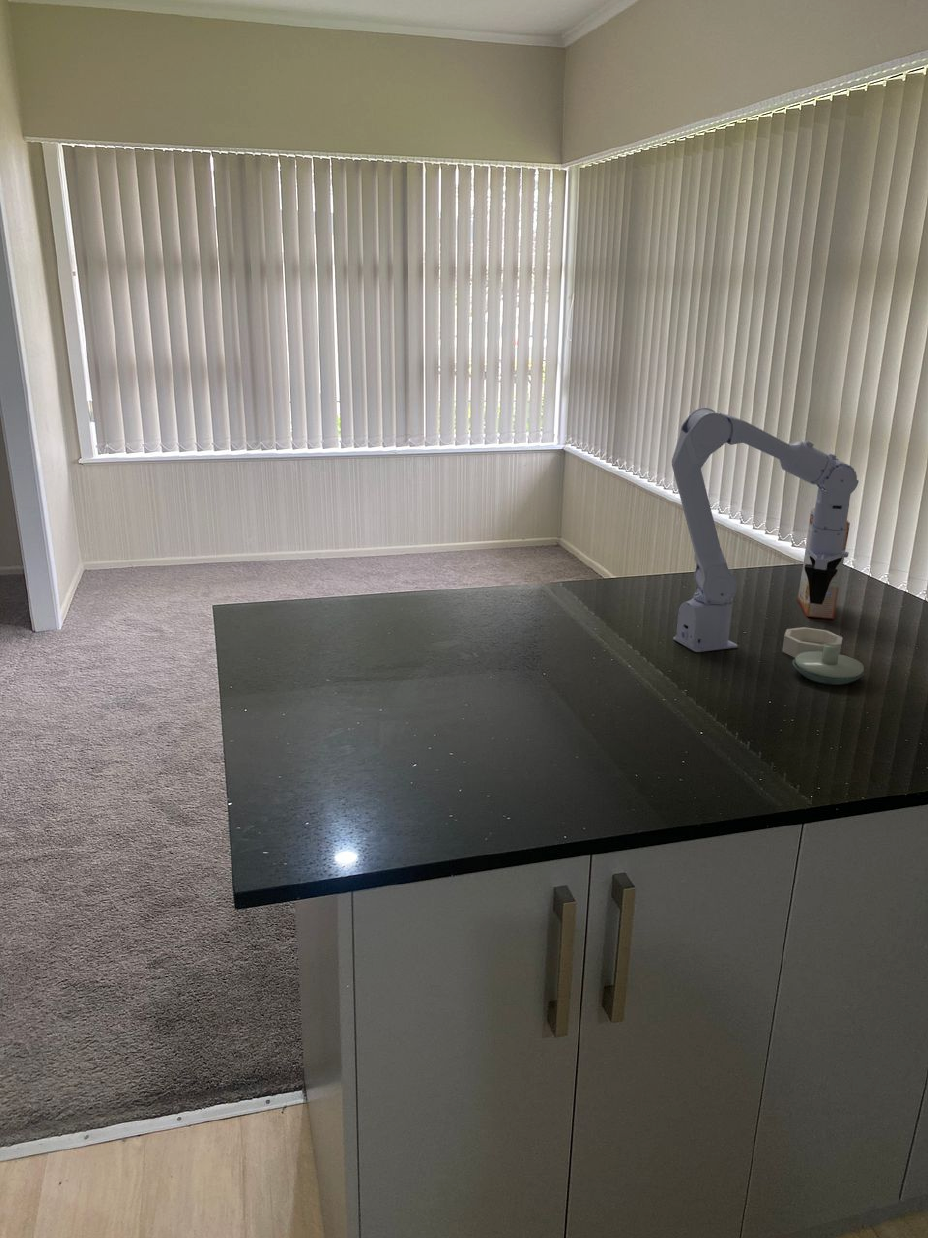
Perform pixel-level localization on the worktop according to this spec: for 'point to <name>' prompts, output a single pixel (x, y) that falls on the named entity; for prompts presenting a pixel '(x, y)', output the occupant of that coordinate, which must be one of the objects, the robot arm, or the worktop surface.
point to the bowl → (808, 640)
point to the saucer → (825, 679)
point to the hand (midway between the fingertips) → (818, 598)
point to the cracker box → (830, 600)
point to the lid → (829, 663)
